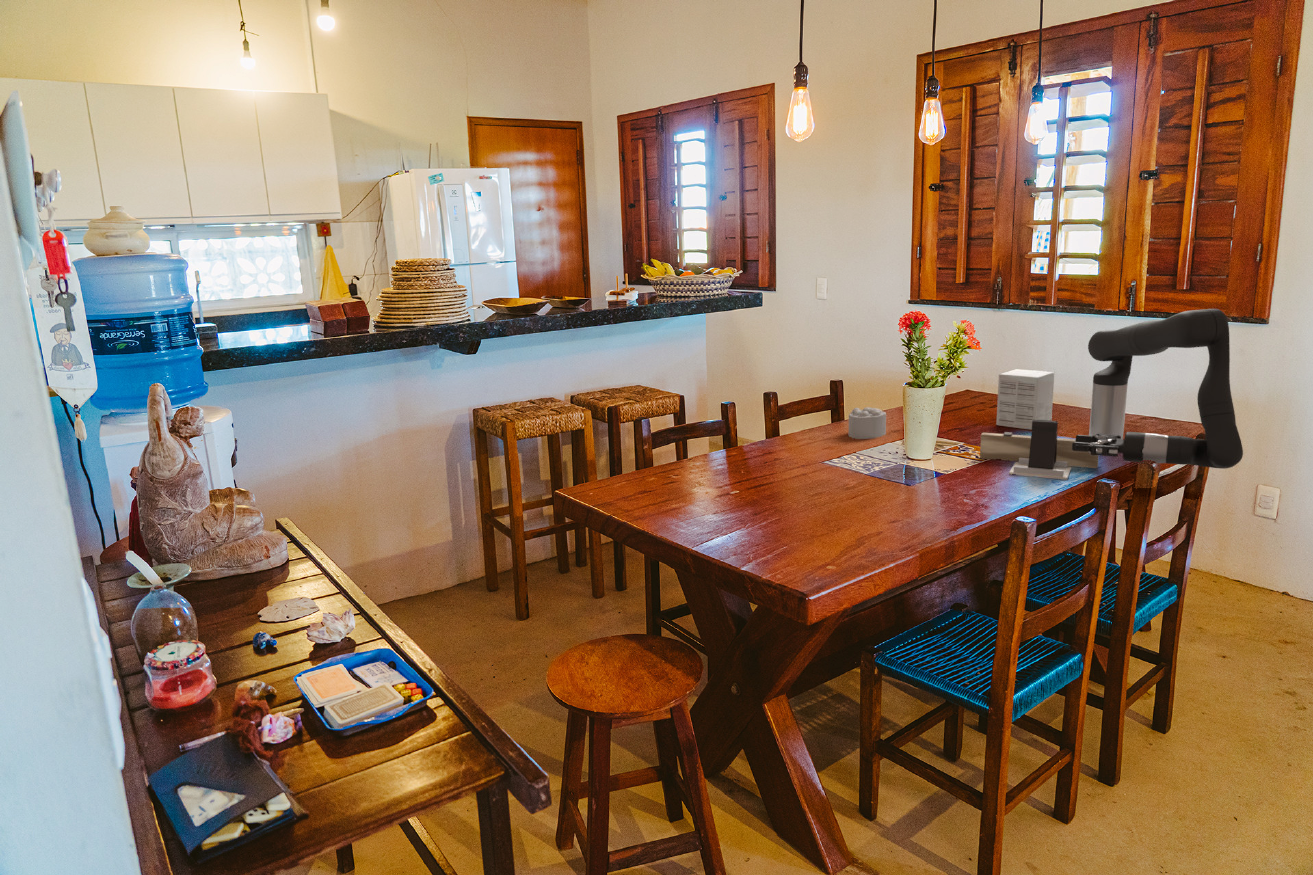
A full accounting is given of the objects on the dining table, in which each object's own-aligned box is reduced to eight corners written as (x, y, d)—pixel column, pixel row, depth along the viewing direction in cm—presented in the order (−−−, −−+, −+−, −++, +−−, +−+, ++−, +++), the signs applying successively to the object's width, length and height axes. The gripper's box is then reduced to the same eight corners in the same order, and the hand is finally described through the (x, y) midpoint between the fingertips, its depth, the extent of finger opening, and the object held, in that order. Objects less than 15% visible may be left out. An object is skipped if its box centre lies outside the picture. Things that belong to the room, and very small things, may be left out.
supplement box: (1013, 418, 285) (1015, 368, 281) (1052, 423, 276) (1055, 371, 272) (995, 425, 277) (997, 373, 273) (1034, 430, 267) (1038, 377, 263)
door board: (981, 455, 240) (982, 430, 238) (1097, 465, 225) (1099, 438, 223) (979, 458, 238) (981, 432, 236) (1097, 468, 223) (1099, 441, 221)
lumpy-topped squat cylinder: (890, 433, 273) (890, 407, 271) (867, 441, 264) (868, 414, 262) (863, 429, 280) (863, 404, 278) (840, 436, 272) (840, 410, 270)
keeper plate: (1015, 464, 230) (1015, 456, 230) (1071, 469, 223) (1071, 461, 222) (1009, 474, 221) (1009, 466, 221) (1067, 479, 214) (1067, 471, 213)
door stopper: (1032, 459, 227) (1035, 416, 224) (1056, 461, 224) (1059, 418, 221) (1027, 467, 219) (1030, 423, 216) (1052, 469, 216) (1055, 425, 213)
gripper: (1147, 427, 213) (1077, 423, 221) (1146, 439, 201) (1072, 434, 209) (1145, 455, 214) (1075, 450, 223) (1143, 469, 203) (1070, 462, 211)
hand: (1074, 442), depth 216 cm, fingers open, 8 cm apart
